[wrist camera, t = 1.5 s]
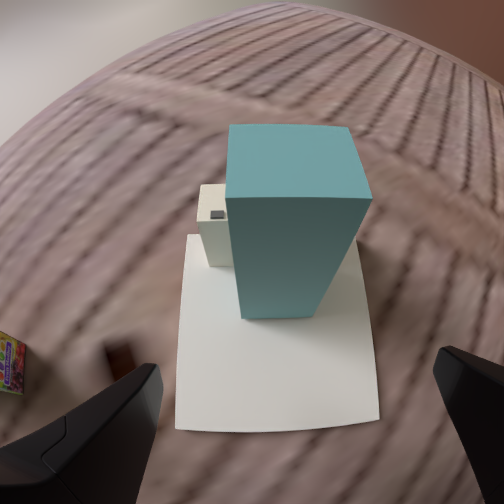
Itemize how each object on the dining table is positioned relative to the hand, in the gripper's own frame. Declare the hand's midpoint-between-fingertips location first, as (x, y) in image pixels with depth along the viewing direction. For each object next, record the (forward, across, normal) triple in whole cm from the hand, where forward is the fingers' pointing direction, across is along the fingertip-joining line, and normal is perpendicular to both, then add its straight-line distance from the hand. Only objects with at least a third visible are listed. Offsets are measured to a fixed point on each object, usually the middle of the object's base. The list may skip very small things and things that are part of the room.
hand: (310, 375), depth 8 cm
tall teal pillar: (+14, 0, +3) cm, 14 cm away
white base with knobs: (+13, 0, +6) cm, 14 cm away
